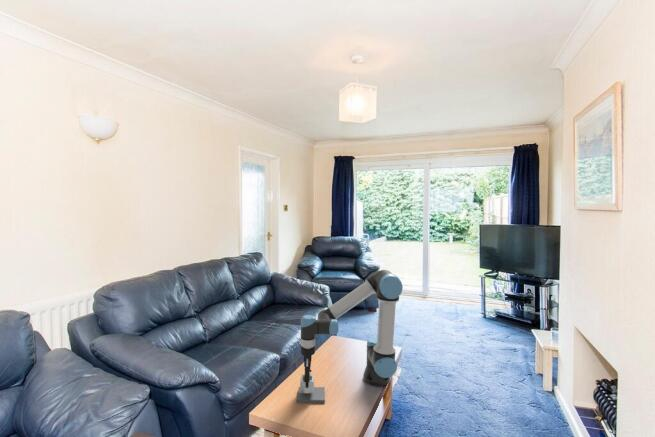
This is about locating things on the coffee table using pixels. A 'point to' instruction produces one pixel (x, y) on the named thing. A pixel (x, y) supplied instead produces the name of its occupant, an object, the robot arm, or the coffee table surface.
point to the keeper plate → (312, 396)
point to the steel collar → (310, 383)
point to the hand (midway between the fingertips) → (307, 388)
